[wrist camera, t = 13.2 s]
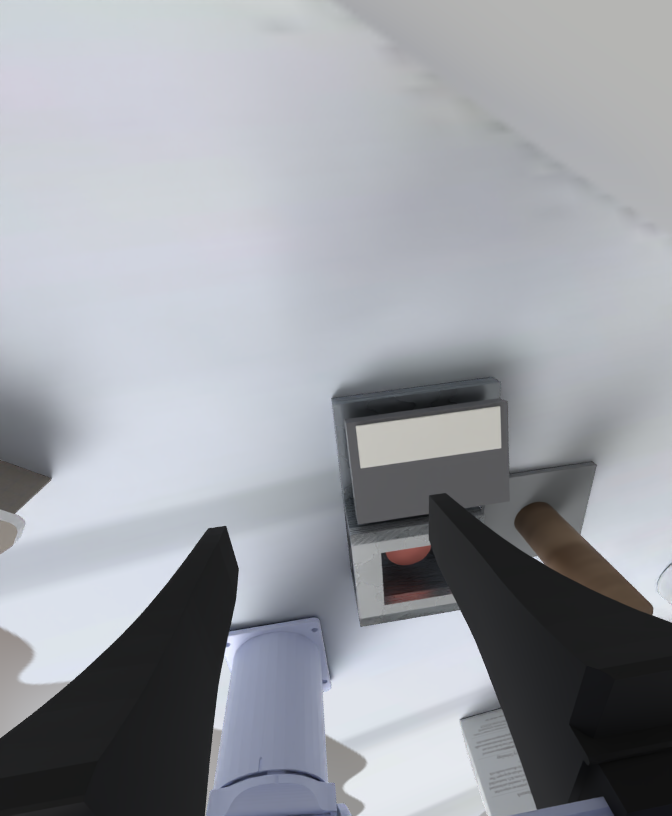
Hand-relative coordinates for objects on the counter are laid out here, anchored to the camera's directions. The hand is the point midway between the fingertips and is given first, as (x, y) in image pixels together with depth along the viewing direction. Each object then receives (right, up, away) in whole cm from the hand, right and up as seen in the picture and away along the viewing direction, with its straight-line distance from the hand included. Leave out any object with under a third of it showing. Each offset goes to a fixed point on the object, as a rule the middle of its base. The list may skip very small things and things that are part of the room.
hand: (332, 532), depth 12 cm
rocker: (+5, +1, +8) cm, 10 cm away
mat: (+15, -4, +14) cm, 21 cm away
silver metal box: (+6, -1, +12) cm, 13 cm away
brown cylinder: (+15, -4, +14) cm, 21 cm away
